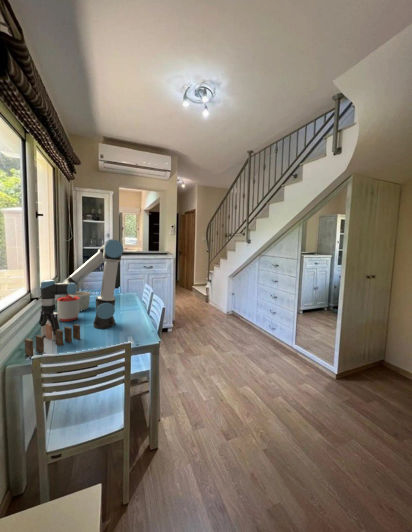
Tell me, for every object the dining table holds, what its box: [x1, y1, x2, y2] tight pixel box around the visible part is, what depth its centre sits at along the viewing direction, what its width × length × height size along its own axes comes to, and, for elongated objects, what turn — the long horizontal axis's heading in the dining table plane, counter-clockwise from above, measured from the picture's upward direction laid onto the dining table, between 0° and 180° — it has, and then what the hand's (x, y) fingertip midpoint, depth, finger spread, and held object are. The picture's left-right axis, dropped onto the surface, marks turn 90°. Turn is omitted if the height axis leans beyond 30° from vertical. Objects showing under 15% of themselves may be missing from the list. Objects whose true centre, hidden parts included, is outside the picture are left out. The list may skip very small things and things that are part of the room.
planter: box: [68, 290, 91, 312], centre depth 215 cm, size 17×17×15 cm
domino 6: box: [72, 323, 81, 340], centre depth 157 cm, size 2×5×9 cm, turn 62°
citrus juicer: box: [56, 295, 80, 322], centre depth 191 cm, size 16×17×20 cm
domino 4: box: [55, 329, 64, 347], centre depth 147 cm, size 2×5×9 cm, turn 62°
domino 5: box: [63, 326, 73, 344], centre depth 152 cm, size 2×5×9 cm, turn 62°
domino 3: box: [45, 323, 53, 340], centre depth 156 cm, size 2×5×9 cm, turn 62°
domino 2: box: [35, 334, 45, 354], centre depth 138 cm, size 2×5×9 cm, turn 62°
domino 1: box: [24, 338, 34, 357], centre depth 133 cm, size 2×5×9 cm, turn 62°
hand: (49, 337), depth 156 cm, fingers open, 11 cm apart
